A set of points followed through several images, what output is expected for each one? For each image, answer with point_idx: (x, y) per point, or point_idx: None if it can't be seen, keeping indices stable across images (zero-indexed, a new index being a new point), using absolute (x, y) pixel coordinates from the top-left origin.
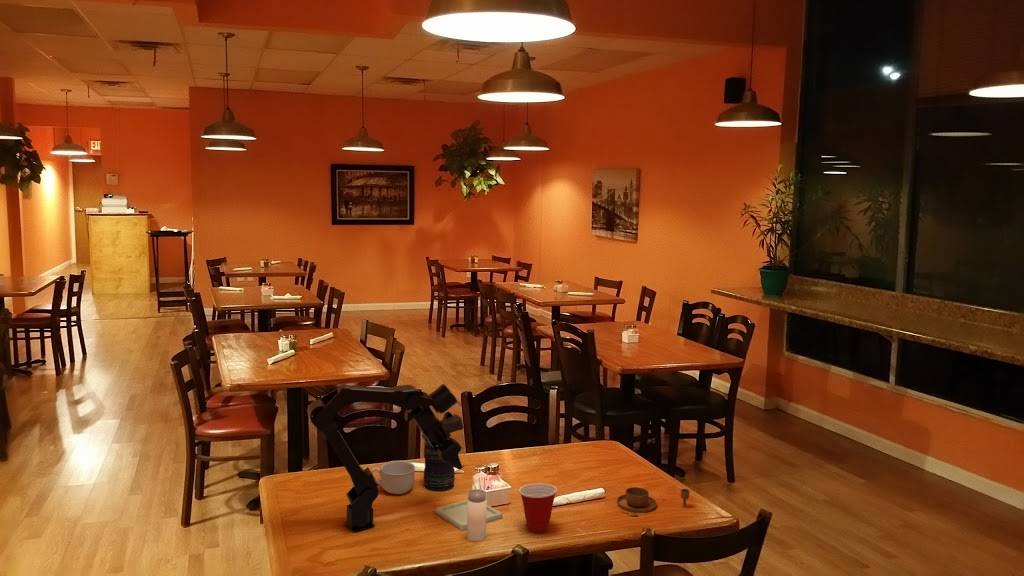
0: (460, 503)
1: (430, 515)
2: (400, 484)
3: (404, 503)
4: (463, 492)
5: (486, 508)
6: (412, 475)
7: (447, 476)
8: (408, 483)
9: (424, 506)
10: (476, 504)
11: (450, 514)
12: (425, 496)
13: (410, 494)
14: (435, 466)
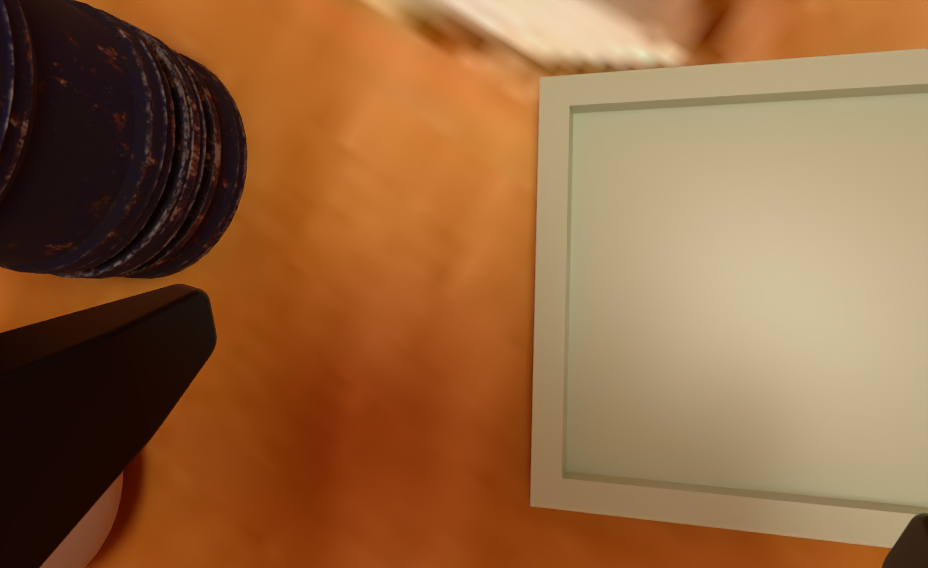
0: (567, 255)
1: (548, 551)
2: (69, 546)
3: (252, 562)
4: (339, 68)
5: (788, 97)
6: None
7: (163, 132)
8: None
9: (378, 478)
10: None
11: (669, 435)
12: (239, 358)
13: None
14: (25, 220)
